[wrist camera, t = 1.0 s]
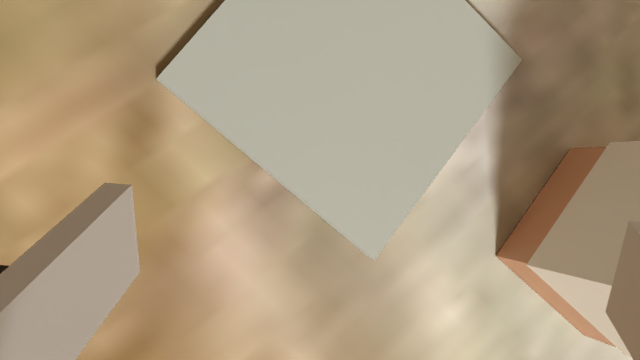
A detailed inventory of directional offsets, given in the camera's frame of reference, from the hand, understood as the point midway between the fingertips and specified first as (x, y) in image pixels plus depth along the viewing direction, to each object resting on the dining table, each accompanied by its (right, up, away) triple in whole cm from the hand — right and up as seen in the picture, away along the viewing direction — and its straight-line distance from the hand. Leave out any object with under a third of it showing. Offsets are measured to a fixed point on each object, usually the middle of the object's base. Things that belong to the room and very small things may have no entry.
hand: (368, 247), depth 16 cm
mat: (+1, +8, +19) cm, 21 cm away
